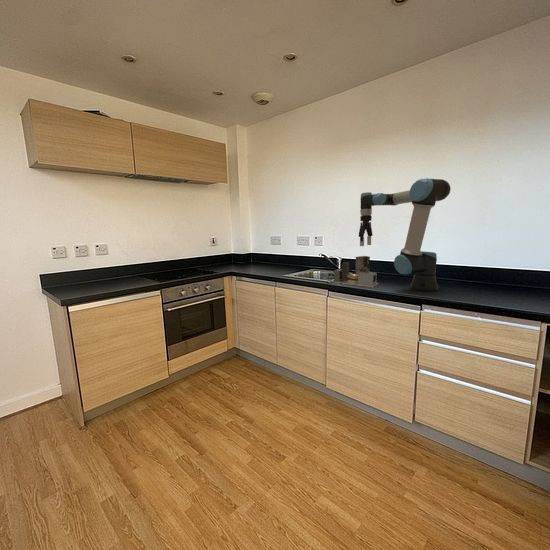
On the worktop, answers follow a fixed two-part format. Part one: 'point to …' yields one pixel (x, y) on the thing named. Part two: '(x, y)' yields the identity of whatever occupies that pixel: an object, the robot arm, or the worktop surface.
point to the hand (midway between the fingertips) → (365, 245)
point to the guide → (363, 280)
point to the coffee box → (362, 264)
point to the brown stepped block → (347, 272)
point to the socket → (337, 275)
